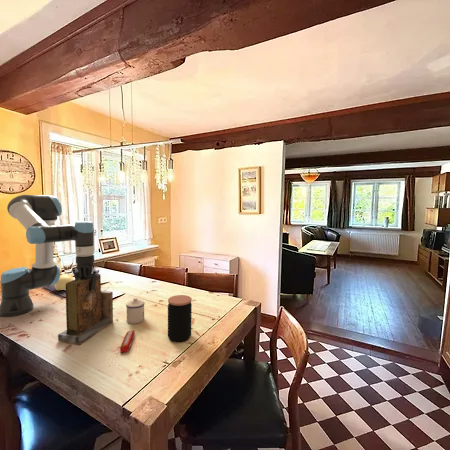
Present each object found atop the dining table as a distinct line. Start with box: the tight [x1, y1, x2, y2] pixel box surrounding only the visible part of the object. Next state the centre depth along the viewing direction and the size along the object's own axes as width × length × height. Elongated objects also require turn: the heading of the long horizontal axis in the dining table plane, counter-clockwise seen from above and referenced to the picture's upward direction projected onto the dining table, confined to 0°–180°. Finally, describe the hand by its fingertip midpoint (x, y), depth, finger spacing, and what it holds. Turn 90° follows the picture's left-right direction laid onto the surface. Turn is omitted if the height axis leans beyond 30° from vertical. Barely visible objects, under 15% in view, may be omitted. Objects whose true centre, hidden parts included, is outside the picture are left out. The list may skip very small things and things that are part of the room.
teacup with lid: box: [125, 297, 146, 325], centre depth 133 cm, size 12×9×12 cm
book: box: [65, 273, 102, 336], centre depth 119 cm, size 16×6×25 cm, turn 167°
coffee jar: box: [167, 294, 193, 344], centre depth 116 cm, size 11×11×18 cm
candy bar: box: [119, 329, 136, 354], centre depth 111 cm, size 16×4×3 cm, turn 9°
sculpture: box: [54, 273, 75, 291], centre depth 176 cm, size 11×12×11 cm
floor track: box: [57, 290, 114, 346], centre depth 120 cm, size 11×22×16 cm, turn 167°
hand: (86, 304), depth 119 cm, fingers closed
